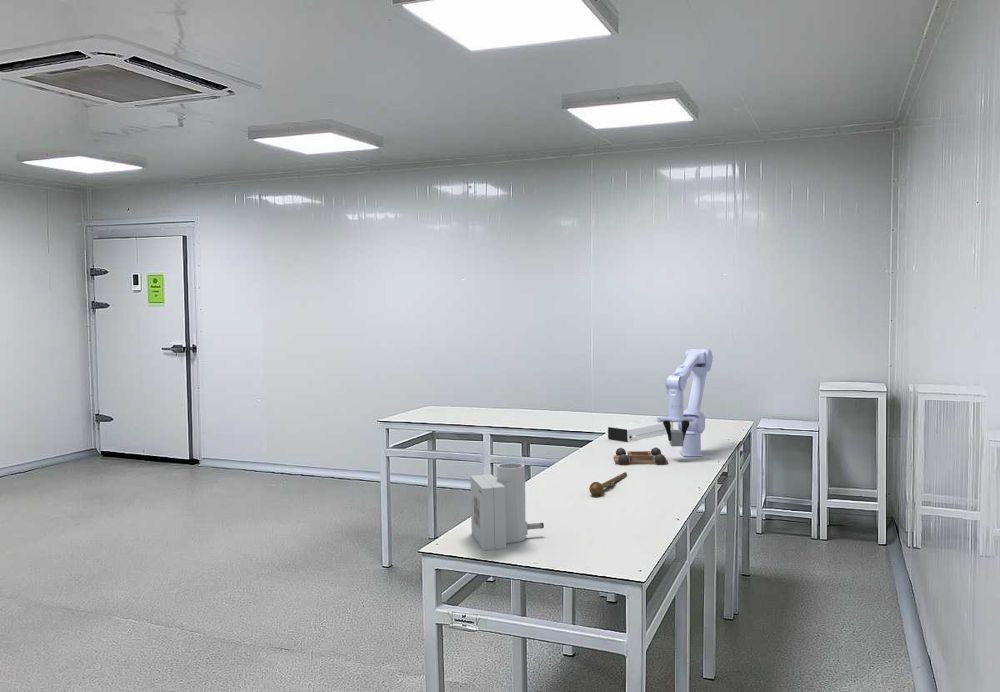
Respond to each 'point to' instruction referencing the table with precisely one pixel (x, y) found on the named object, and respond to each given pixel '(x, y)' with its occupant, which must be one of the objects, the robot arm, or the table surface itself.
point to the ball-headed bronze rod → (604, 485)
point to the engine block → (676, 438)
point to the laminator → (637, 430)
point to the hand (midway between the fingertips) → (676, 440)
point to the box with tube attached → (500, 507)
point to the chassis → (640, 457)
